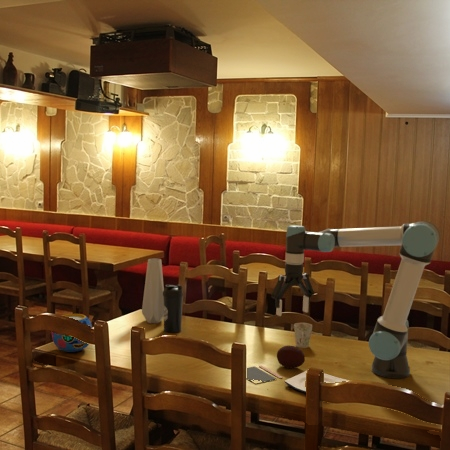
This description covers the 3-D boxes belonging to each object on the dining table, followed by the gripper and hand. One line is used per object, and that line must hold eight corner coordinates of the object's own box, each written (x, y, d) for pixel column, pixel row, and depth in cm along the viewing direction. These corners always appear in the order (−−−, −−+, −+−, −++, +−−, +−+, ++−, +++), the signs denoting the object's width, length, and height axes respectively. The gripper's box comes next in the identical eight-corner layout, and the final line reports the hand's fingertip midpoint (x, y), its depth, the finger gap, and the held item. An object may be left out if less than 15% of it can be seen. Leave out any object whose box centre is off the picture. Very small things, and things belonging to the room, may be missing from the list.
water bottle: (160, 328, 285) (161, 283, 283) (180, 327, 288) (181, 282, 286) (164, 334, 276) (165, 287, 273) (184, 332, 279) (185, 286, 276)
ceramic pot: (60, 360, 237) (60, 325, 235) (46, 348, 251) (45, 315, 250) (99, 352, 247) (99, 319, 246) (83, 341, 262) (83, 309, 260)
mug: (311, 343, 267) (311, 323, 266) (312, 352, 255) (313, 330, 254) (293, 342, 268) (294, 322, 267) (293, 351, 256) (294, 329, 254)
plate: (355, 387, 217) (355, 381, 216) (326, 403, 202) (327, 396, 201) (310, 373, 230) (310, 367, 230) (280, 387, 215) (280, 380, 215)
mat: (276, 379, 222) (276, 378, 222) (255, 384, 217) (255, 383, 216) (254, 367, 234) (254, 366, 234) (234, 371, 229) (234, 370, 229)
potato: (279, 362, 242) (280, 340, 240) (307, 366, 237) (308, 345, 236) (273, 368, 234) (273, 346, 233) (301, 373, 229) (302, 351, 228)
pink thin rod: (282, 378, 223) (282, 377, 223) (280, 378, 223) (280, 378, 223) (261, 366, 236) (261, 365, 236) (258, 366, 235) (258, 365, 235)
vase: (156, 317, 306) (157, 256, 302) (169, 322, 297) (170, 259, 293) (137, 320, 298) (137, 258, 294) (149, 325, 289) (150, 262, 285)
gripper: (312, 259, 243) (310, 308, 245) (263, 263, 231) (262, 314, 233) (324, 262, 236) (321, 312, 239) (274, 266, 224) (272, 319, 226)
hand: (292, 313), depth 236 cm, fingers open, 13 cm apart
